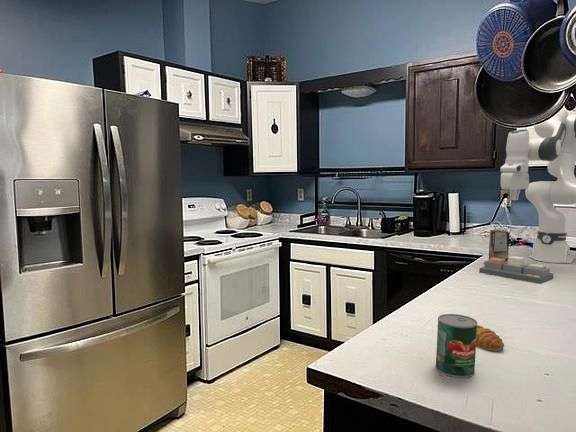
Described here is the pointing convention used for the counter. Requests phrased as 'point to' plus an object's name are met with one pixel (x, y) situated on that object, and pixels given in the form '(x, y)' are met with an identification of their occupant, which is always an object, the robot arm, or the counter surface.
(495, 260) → the key rust
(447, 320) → the canned tomato
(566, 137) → the robot arm
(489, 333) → the pastry
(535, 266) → the key sage
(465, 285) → the counter surface
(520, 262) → the key cream
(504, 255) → the coffee box
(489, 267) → the keypad base
